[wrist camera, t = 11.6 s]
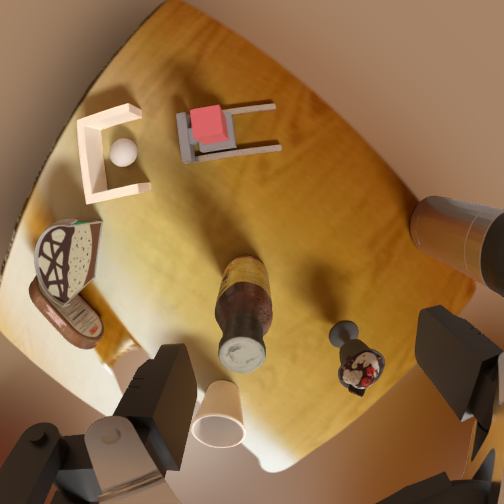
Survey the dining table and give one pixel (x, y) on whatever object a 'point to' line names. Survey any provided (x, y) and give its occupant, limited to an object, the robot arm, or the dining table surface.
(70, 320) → the tin
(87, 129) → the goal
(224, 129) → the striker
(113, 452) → the robot arm
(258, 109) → the track
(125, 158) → the sports ball
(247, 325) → the sauce bottle
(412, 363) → the dining table surface
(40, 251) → the food container
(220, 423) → the dixie cup
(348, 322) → the sundae
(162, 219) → the dining table surface
